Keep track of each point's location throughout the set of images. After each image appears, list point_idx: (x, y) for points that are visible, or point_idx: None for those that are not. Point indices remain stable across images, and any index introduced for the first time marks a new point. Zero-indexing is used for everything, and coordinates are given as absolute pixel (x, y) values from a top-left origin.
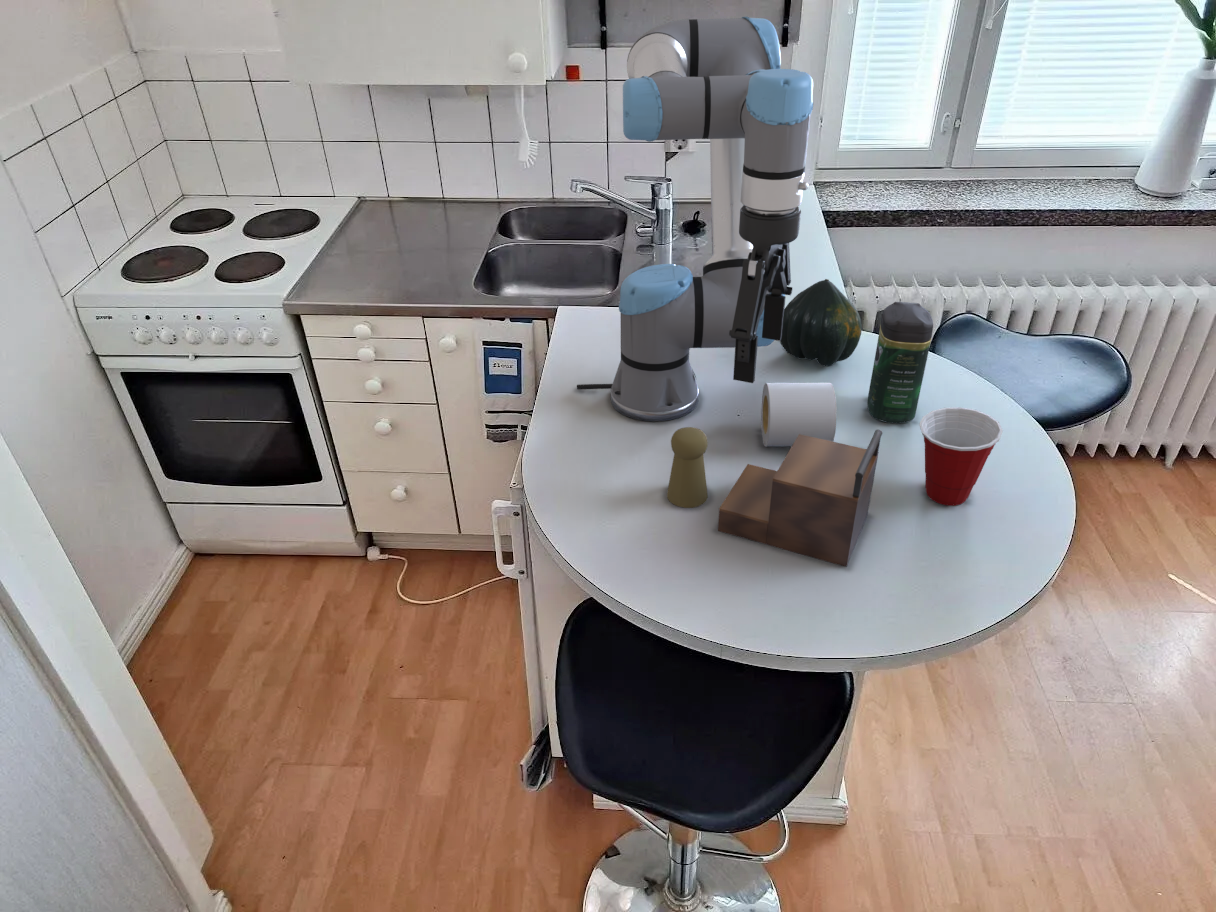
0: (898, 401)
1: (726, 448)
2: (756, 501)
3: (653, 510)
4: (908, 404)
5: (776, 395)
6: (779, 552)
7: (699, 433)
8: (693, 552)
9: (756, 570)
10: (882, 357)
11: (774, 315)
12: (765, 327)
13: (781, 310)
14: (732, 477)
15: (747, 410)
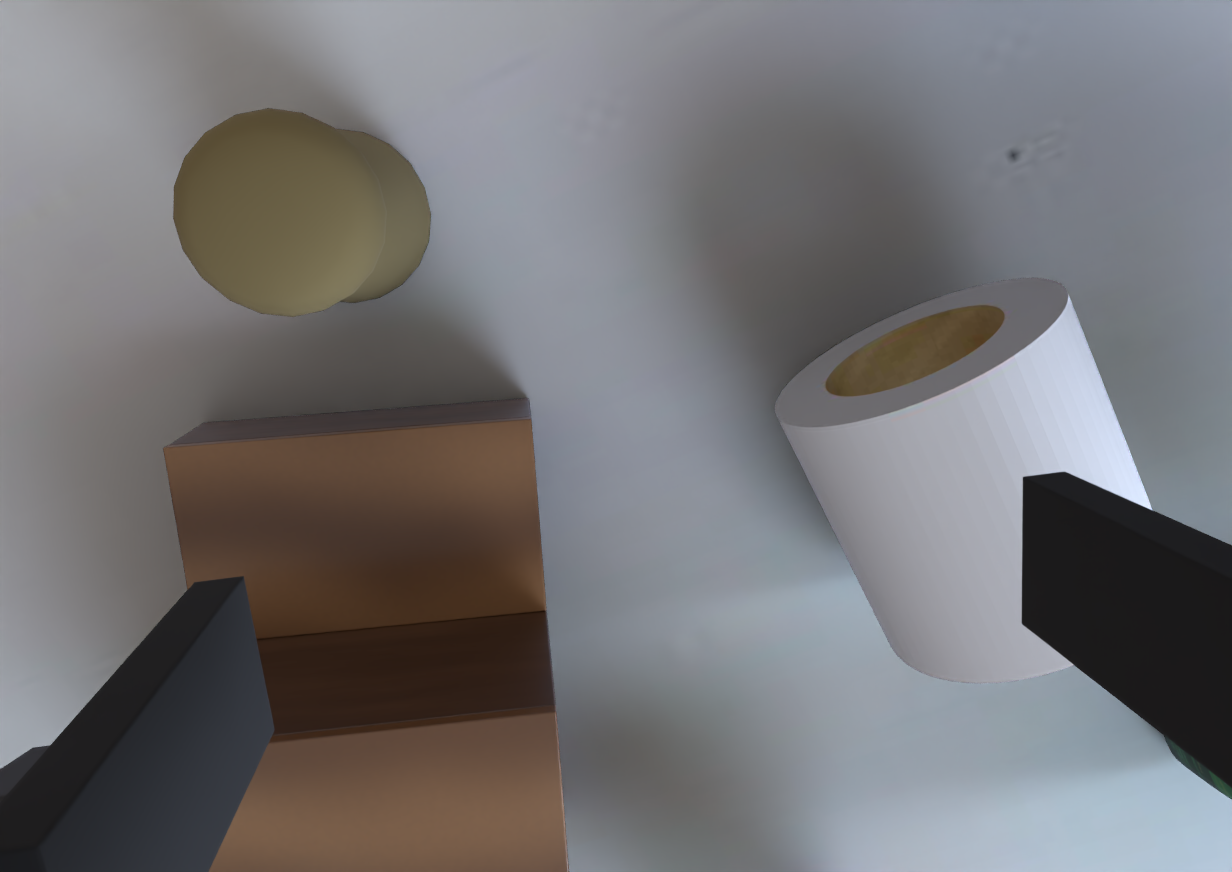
0: None
1: (744, 217)
2: (293, 557)
3: (175, 134)
4: (1228, 793)
5: (933, 435)
6: None
7: (298, 266)
8: (33, 398)
9: (81, 626)
10: None
11: (1170, 663)
12: (1082, 531)
13: (1219, 762)
14: (557, 326)
15: (1067, 175)
